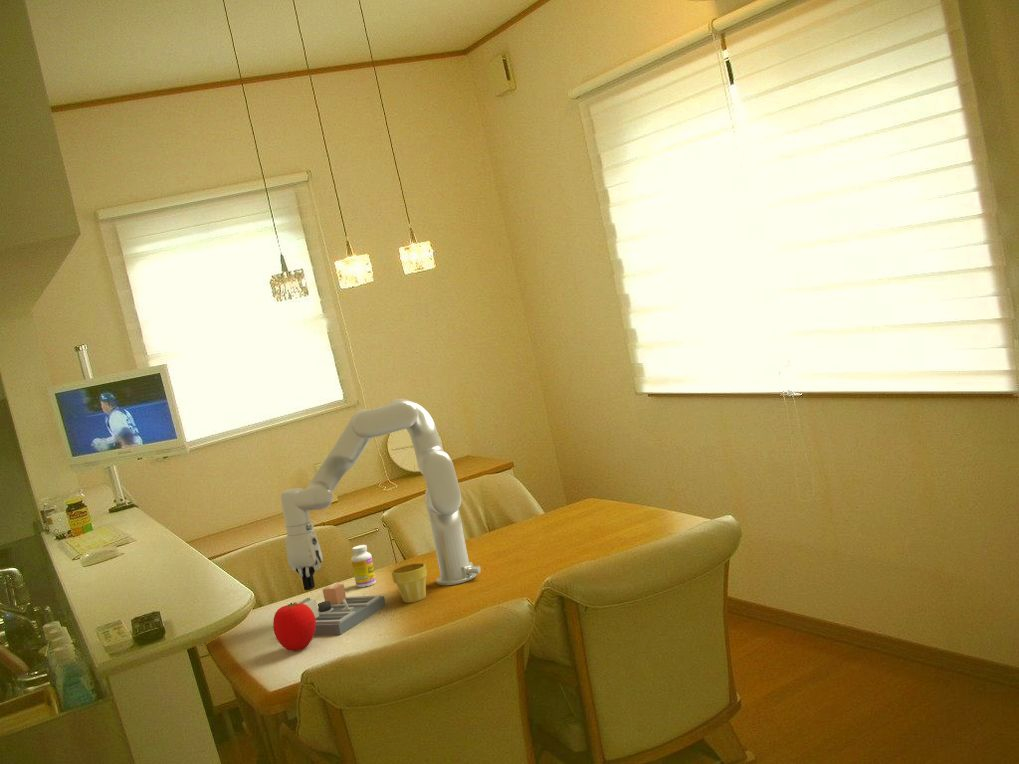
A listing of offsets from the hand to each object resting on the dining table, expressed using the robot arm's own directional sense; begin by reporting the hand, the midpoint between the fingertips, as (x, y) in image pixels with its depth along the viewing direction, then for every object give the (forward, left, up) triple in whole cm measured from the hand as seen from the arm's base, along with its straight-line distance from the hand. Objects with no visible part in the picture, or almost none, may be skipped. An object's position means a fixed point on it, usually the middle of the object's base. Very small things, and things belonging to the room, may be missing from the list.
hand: (309, 588), depth 307 cm
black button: (-9, +7, -5) cm, 12 cm away
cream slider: (-8, +14, -5) cm, 17 cm away
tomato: (-15, +29, -8) cm, 34 cm away
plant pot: (-29, -10, -8) cm, 32 cm away
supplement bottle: (0, -28, -8) cm, 30 cm away
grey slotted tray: (-13, +7, -8) cm, 17 cm away
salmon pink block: (-8, 0, -5) cm, 10 cm away
